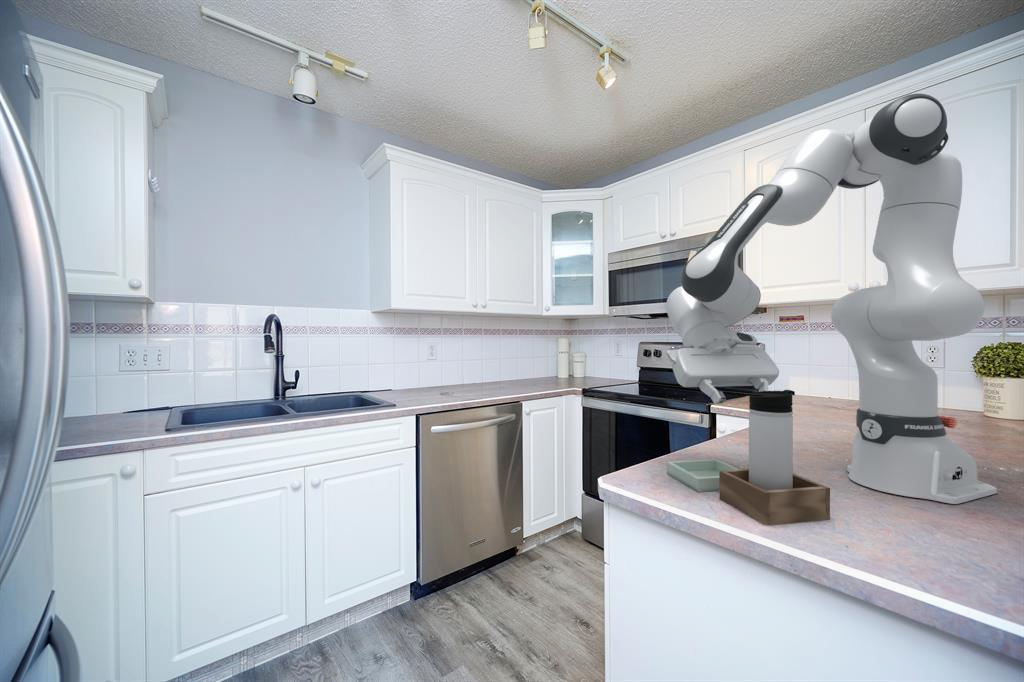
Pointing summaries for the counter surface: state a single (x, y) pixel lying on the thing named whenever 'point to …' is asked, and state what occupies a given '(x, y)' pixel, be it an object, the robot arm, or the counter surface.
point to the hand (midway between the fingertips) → (744, 401)
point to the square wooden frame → (775, 499)
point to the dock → (698, 473)
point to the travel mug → (771, 440)
